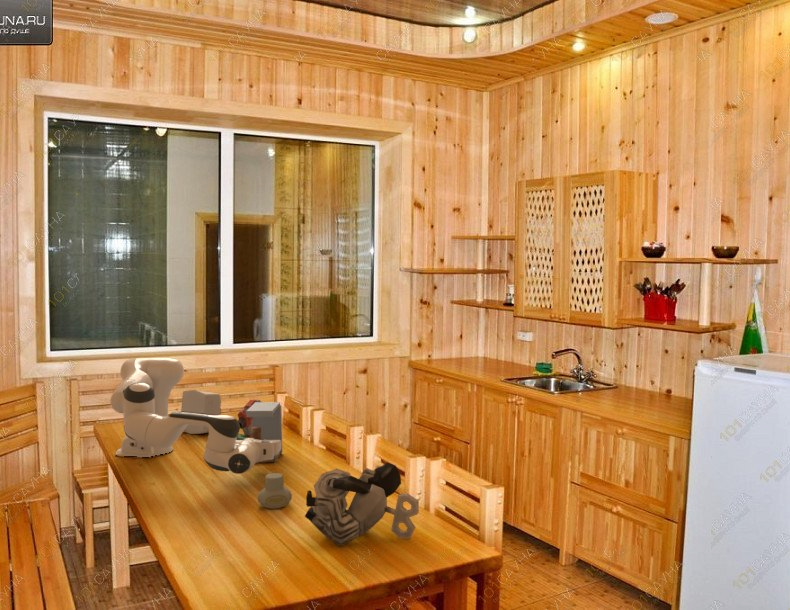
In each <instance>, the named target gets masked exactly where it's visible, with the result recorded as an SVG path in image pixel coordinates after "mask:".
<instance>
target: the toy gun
mask: <svg viewBox="0 0 790 610" xmlns="http://www.w3.org/2000/svg"><path fill="white" fill-rule="evenodd" d="M255 402H262V401H261V400H260V399H257V398H256V399H255V398H254V399H249V400H248V401H247V403H246V404H245V405H244V406H243V408H242V409H240V410H239V412H238V413H237V417H238V419H237V421H238V422H239V424H240V429H241V430H242V432H243V435H245V436H249V437H248V438H251V437H252V430H251V428H252V427H254V418H253V417H247V415H246V411H247V410H248V409H249V408H250V407H251V406H252V405H253V404H254V403H255Z"/></svg>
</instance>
